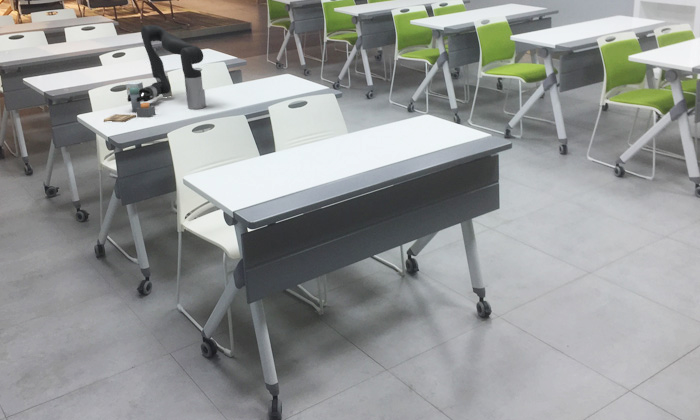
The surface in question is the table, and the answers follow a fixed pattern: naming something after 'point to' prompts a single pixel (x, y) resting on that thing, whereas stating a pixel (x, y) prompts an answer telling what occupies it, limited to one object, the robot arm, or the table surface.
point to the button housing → (145, 111)
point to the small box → (133, 84)
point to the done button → (144, 105)
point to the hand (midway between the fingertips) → (133, 99)
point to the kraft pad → (119, 118)
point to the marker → (134, 98)
